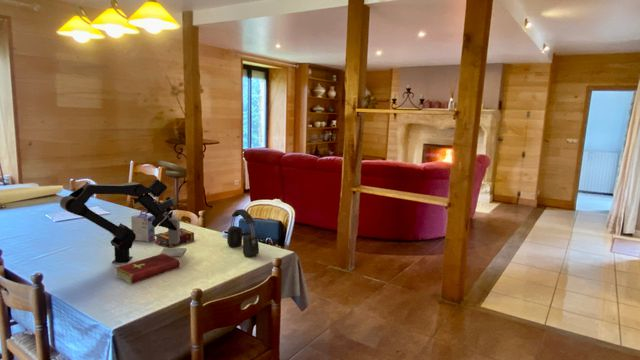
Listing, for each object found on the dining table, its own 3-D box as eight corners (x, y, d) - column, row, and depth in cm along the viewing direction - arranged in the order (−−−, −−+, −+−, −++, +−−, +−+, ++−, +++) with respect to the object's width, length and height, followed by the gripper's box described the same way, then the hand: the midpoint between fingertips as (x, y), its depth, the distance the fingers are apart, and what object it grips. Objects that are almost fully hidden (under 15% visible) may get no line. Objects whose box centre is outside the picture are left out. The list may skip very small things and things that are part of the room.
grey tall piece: (177, 243, 176) (177, 215, 174) (168, 243, 175) (167, 215, 173) (180, 240, 180) (179, 213, 178) (171, 240, 180) (170, 213, 178)
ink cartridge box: (155, 238, 198) (154, 211, 196) (149, 241, 193) (147, 213, 191) (138, 236, 200) (137, 209, 198) (131, 240, 195) (129, 212, 193)
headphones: (260, 256, 179) (260, 214, 176) (248, 259, 175) (248, 216, 172) (237, 243, 196) (237, 204, 193) (225, 245, 192) (225, 206, 189)
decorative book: (194, 240, 198) (194, 231, 197) (165, 249, 185) (165, 238, 184) (181, 236, 204) (181, 227, 204) (152, 243, 192) (152, 234, 191)
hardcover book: (180, 268, 163) (180, 259, 162) (131, 285, 146) (130, 274, 146) (163, 261, 170) (163, 252, 169) (115, 276, 153) (114, 266, 153)
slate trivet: (181, 257, 174) (181, 255, 174) (158, 257, 173) (158, 255, 173) (186, 249, 184) (186, 247, 184) (164, 249, 183) (164, 248, 183)
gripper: (158, 196, 164) (186, 221, 168) (168, 188, 182) (193, 211, 186) (139, 214, 164) (167, 239, 168) (151, 204, 182) (176, 227, 186)
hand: (177, 228), depth 177 cm, fingers closed on grey tall piece, 4 cm apart
